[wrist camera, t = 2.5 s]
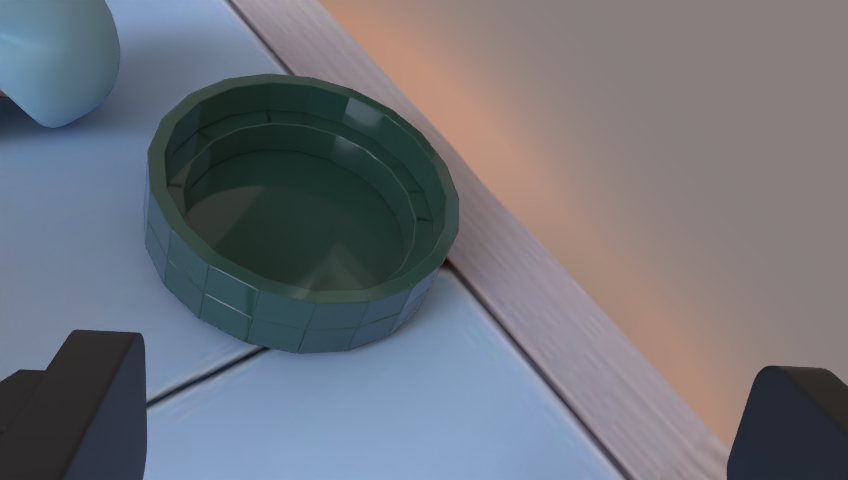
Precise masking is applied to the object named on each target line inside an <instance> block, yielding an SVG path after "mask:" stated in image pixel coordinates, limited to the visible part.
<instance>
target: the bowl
mask: <svg viewBox="0 0 848 480" xmlns="http://www.w3.org/2000/svg"><path fill="white" fill-rule="evenodd" d="M458 229H459V198H458V195H457V192H456V189H455V187H454V184H453V181H452V179H451V176H450V173H449V171H448V168H447V166H446V164H445V163H444V161H443V160H442V159H441V157H440V156H439V155H438V153H437V152H436V151H435V150H434V148H433V147H432V146H431V144H430V143H429V142H428V140H427V139H426V138H425V137H424V135H423V134H422V133H421V132H420V131H418V130H417V129H416V128H415V127H413V126H412V125H411V124H410V123H408V122H407V121H406V120H405V119H403V118H402V117H401V116H400V115H398V114H397V113H396V112H395V111H393V110H392V109H390V108H388V107H386V106H384V105H382V104H380V103H378V102H376V101H374V100H373V99H371V98H369V97H367V96H365V95H363V94H361V93H359V92H357V91H355V90H353V89H350V88H346V87H343V86H340V85H336V84H333V83H329V82H326V81H322V80H319V79H316V78H310V77H300V76H289V75H279V74H261V75H253V76H245V77H237V78H229V79H225V80H222V81H220V82H217V83H215V84H213V85H210V86H208V87H205V88H203V89H200V90H198V91H195V92H193V93H191V94H189V95H188V96H187V97H186V98H185V99H184V100H182V101H181V102H180V103H179V104H178V105H177V106H176V107H175V108H173V109H172V110H171V111H170V112H169V113H168V114H167V115H165V116H164V117H163V119H162V120H161V122H160V124H159V127H158V129H157V131H156V133H155V136H154V138H153V140H152V142H151V145H150V147H149V149H148V153H147V167H146V184H145V196H144V230H145V245H146V249H147V251H148V253H149V255H150V257H151V259H152V261H153V263H154V265H155V267H156V269H157V271H158V273H159V275H160V277H161V279H162V281H163V283H164V285H165V286H166V287H167V288H168V289H169V290H170V291H171V292H172V293H173V294H174V295H175V296H176V297H177V298H178V299H179V300H180V301H181V302H182V303H183V304H184V305H185V306H187V307H188V308H189V309H190V310H191V311H192V312H193V313H194V314H195V315H196V316H197V317H198V318H200V319H201V320H203V321H205V322H207V323H209V324H211V325H213V326H214V327H216V328H218V329H220V330H222V331H224V332H226V333H228V334H230V335H232V336H234V337H236V338H238V339H240V340H241V341H243V342H246V341H247V343H249V344H254V345H259V346H263V347H268V348H273V349H277V350H282V351H287V352H292V353H297V352H298V354H305V353H321V352H337V351H346V350H351V349H353V348H356V347H359V346H361V345H364V344H366V343H369V342H372V341H374V340H377V339H380V338H382V337H385V336H387V335H389V334H390V333H392V332H393V331H394V330H395V329H396V328H397V327H399V326H400V325H401V324H402V323H403V322H404V321H405V320H407V319H408V318H409V317H410V316H411V315H412V314H413V313H415V312H416V311H417V309H418V308H419V306H420V305H421V303H422V301H423V299H424V297H425V295H426V294H427V292H428V290H429V288H430V286H431V284H432V283H433V281H434V279H435V277H436V275H437V274H438V272H439V270H440V268H441V266H442V264H443V263H444V261H445V258H446V256H447V254H448V252H449V250H450V248H451V246H452V244H453V242H454V240H455V238H456V236H457V234H458Z"/></svg>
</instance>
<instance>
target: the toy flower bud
mask: <svg viewBox="0 0 848 480" xmlns="http://www.w3.org/2000/svg"><path fill="white" fill-rule="evenodd" d="M119 65H120V44H119V39H118V34H117V30H116V26H115V23H114V19H113V17H112V14H111V12H110V9H109V7H108V6H107V4H106V2H105V0H0V96H1V97H9V98H11V99H12V100H13V101H14V102H15V103H16V104H17V105H18V106H19V107H20V108H22V109H23V110H24V111H25V112H26V113H27V114H28V115H29V116H31V117H32V118H33V119H34V120H36V121H37V122H38V123H40V124H41V125H43V126H45V127H49V128H57V127H61V126H64V125H66V124H68V123H70V122H72V121H74V120H76V119H78V118H80V117H82V116H84V115H85V114H87V113H89V112H90V111H92V110H93V109H95V108H96V107H97V106H98V105H100V104H101V103H102V102H103V101H104V100H105V98H106V97H107V96H108V95H109V93H110V91H111V90H112V88H113V86H114V83H115V81H116V78H117V74H118V70H119Z"/></svg>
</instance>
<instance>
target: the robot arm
mask: <svg viewBox="0 0 848 480" xmlns="http://www.w3.org/2000/svg"><path fill="white" fill-rule="evenodd" d="M146 453H147V412H146V369H145V345H144V339H143V336H142V334H141V333H135V332H115V331H95V330H74V331H72V332H71V333H70V335H69V336H68V338H67V339H66V341H65V342H64V343H63V345H62V346H61V348H60V349H59V351H58V352H57V354H56V355H55V357H54V358H53V360H52V361H51V363H50V364H49V366H48V367H47V369H46V370H45V371H44V370H18V371H17V372H15V373H14V374H12V375H10V376H9V377H7V378H6V379H4V380H3V381H1V382H0V480H143V475H144V470H145V463H146ZM727 480H848V386H847V385H846V384H844V383H843V382H842V381H841V380H840V379H839V378H838V377H836V376H835V375H834V374H833V373H832V372H830V371H829V370H826V369H823V368H810V367H791V366H767V367H764V368H763V369H762V370H761V371H760V372H759V373H758V374H757V376H756V378H755V380H754V382H753V385H752V388H751V392H750V394H749V397H748V400H747V404H746V406H745V410H744V413H743V416H742V419H741V422H740V425H739V428H738V431H737V435H736V437H735V440H734V443H733V446H732V449H731V452H730V455H729V459H728V464H727Z"/></svg>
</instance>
